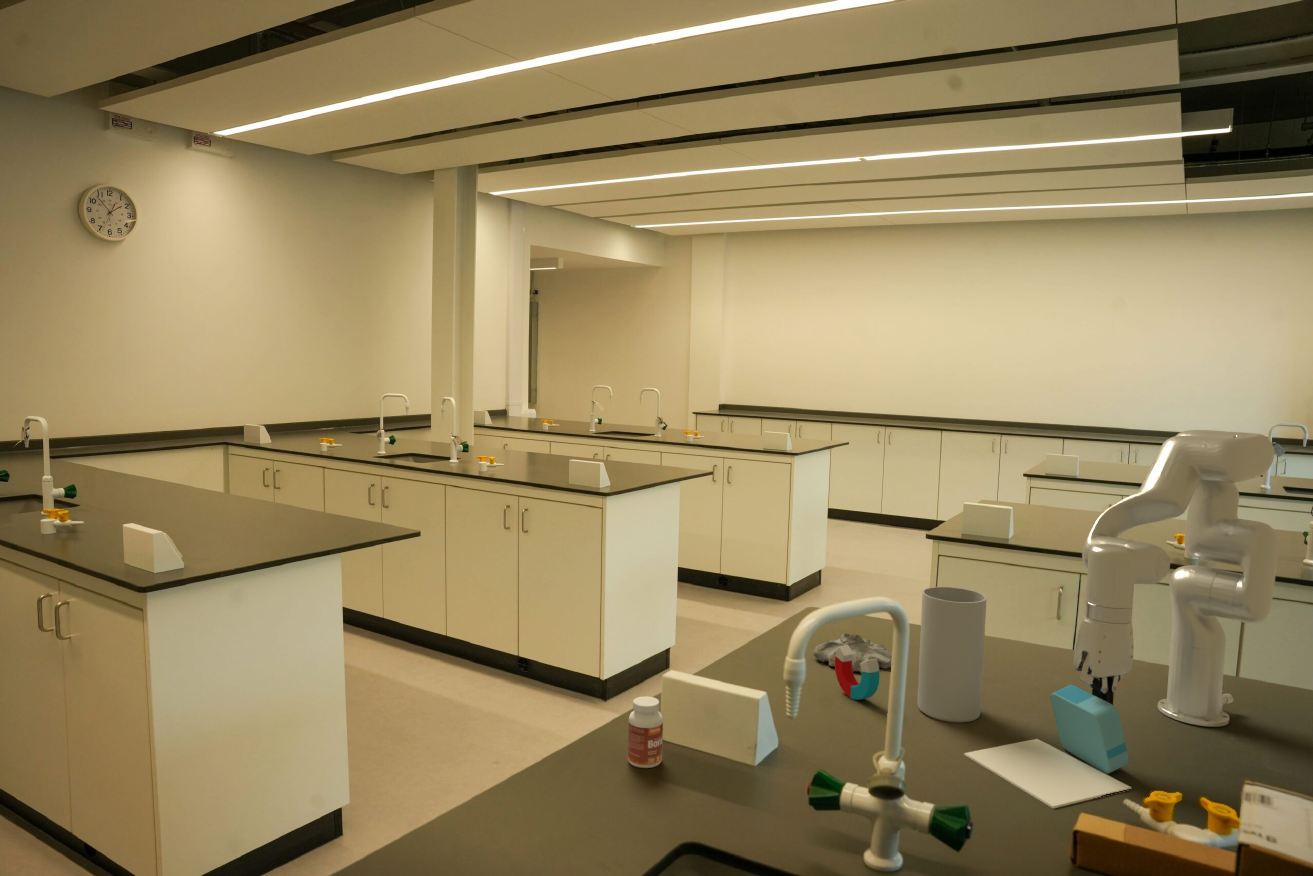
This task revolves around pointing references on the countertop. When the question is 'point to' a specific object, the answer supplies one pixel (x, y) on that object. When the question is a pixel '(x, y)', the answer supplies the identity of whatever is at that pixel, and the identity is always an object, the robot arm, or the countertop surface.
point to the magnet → (847, 678)
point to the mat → (1046, 773)
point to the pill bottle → (645, 733)
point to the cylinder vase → (951, 653)
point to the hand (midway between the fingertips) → (1101, 711)
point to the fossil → (854, 651)
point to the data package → (1089, 728)
